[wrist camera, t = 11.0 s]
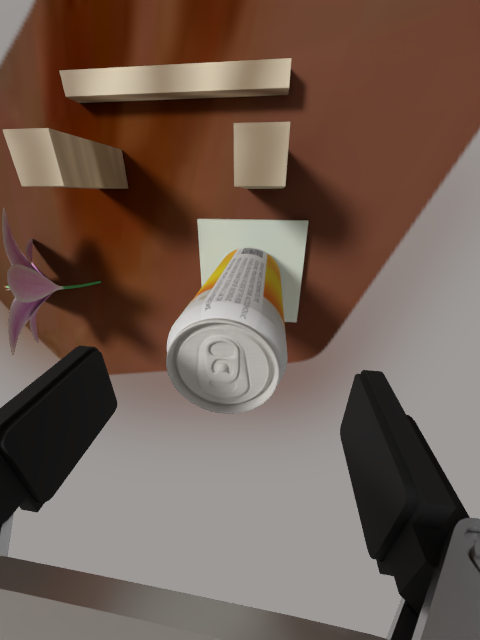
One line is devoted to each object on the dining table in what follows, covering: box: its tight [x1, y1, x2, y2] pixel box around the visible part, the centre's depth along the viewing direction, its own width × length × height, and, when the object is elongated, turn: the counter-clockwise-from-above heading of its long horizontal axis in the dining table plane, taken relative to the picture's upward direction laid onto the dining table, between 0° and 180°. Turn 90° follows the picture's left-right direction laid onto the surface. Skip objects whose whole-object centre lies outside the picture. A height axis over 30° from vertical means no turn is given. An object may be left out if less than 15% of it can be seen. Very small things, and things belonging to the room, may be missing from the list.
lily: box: [2, 209, 101, 355], centre depth 25 cm, size 12×12×10 cm
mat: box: [197, 219, 308, 322], centre depth 25 cm, size 10×10×1 cm
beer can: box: [166, 247, 287, 414], centre depth 18 cm, size 6×6×15 cm
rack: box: [3, 58, 291, 189], centre depth 17 cm, size 17×8×8 cm, turn 90°
